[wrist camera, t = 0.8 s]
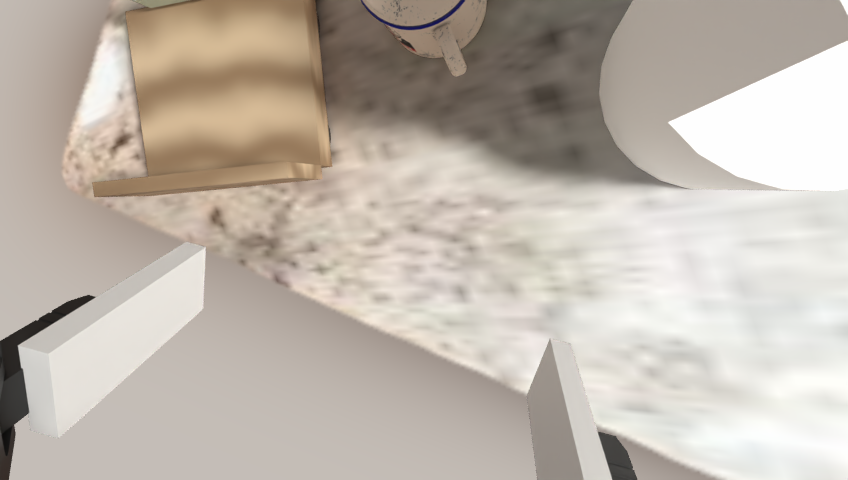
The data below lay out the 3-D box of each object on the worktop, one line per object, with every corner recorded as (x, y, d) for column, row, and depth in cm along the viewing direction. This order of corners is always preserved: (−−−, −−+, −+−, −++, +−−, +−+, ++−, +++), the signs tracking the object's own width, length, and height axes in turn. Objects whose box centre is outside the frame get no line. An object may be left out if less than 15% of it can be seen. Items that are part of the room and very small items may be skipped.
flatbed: (335, 179, 43) (288, 177, 34) (174, 195, 47) (94, 196, 38) (316, -10, 42) (261, -63, 33) (150, 22, 45) (61, -17, 37)
